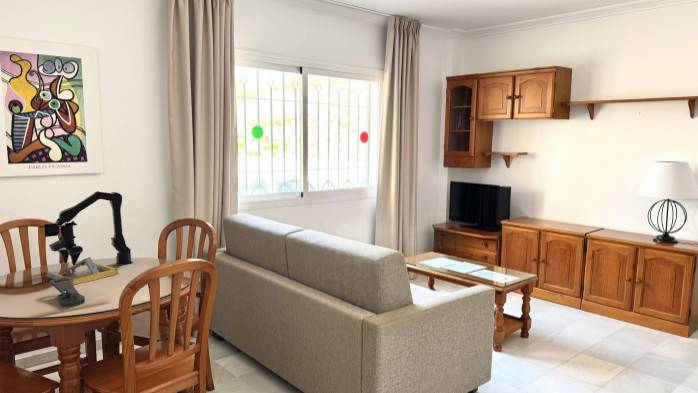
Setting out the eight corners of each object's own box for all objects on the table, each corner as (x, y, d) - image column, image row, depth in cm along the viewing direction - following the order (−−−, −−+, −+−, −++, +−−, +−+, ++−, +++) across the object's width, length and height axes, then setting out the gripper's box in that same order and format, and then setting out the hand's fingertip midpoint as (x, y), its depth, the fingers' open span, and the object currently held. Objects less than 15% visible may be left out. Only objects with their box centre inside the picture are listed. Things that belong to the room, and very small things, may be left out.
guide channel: (93, 266, 263) (93, 262, 263) (118, 274, 249) (118, 269, 249) (47, 276, 245) (47, 272, 244) (71, 285, 230) (71, 280, 230)
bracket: (86, 279, 240) (75, 261, 240) (64, 292, 243) (54, 274, 243) (100, 273, 251) (90, 256, 250) (79, 285, 254) (69, 269, 253)
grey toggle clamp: (69, 276, 223) (86, 288, 204) (71, 290, 223) (87, 303, 205) (47, 280, 216) (62, 292, 198) (48, 294, 217) (63, 308, 199)
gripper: (42, 235, 252) (45, 264, 253) (59, 239, 241) (61, 270, 242) (65, 231, 260) (67, 260, 262) (82, 235, 249) (84, 265, 251)
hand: (69, 263), depth 254 cm, fingers open, 9 cm apart
